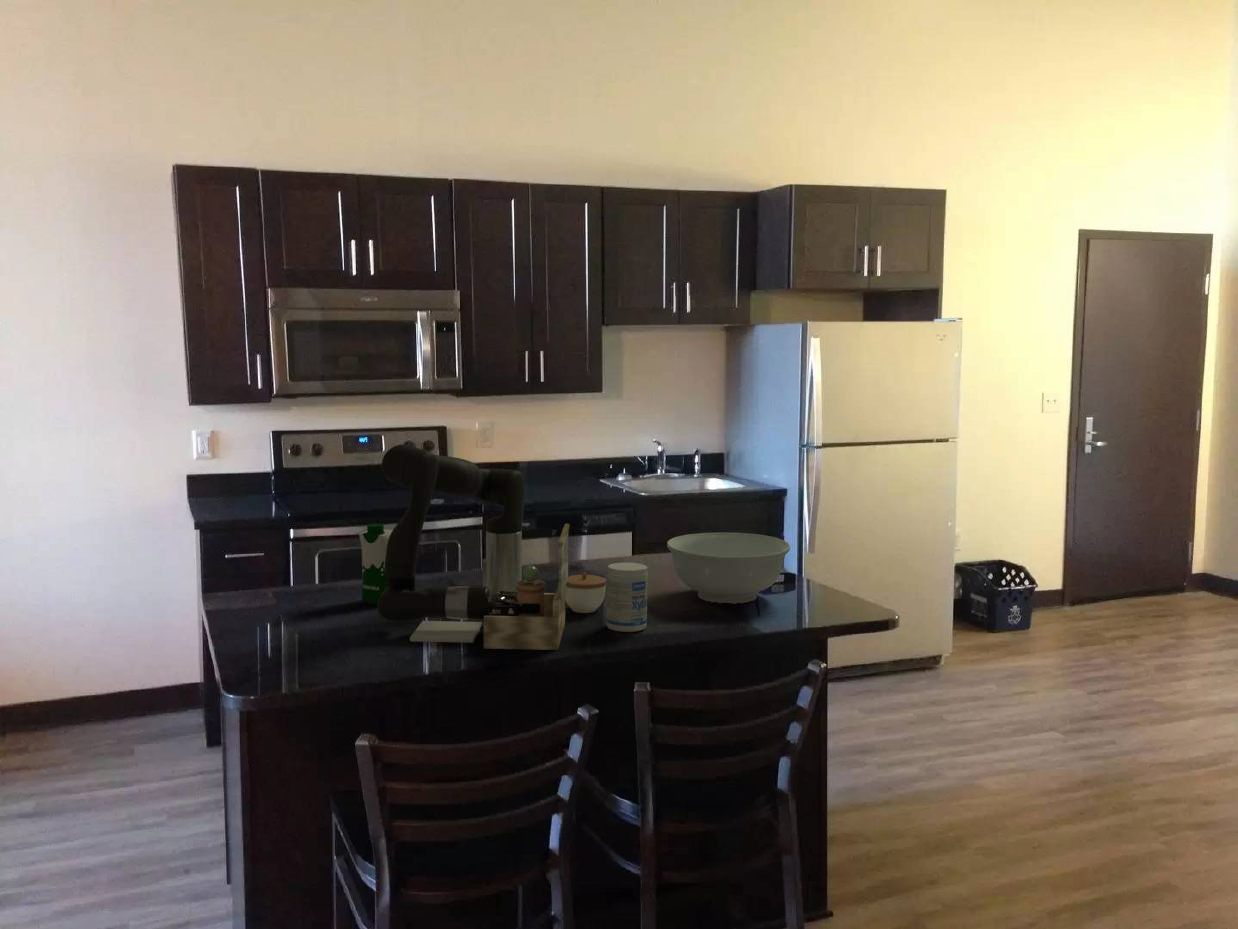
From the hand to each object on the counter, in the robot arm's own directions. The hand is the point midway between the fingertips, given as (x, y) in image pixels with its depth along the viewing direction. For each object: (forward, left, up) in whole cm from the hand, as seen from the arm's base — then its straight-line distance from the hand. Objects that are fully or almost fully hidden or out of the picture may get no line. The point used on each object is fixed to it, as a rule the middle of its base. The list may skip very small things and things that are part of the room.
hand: (541, 604), depth 241 cm
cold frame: (-3, -2, -7) cm, 8 cm away
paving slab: (-18, -11, -7) cm, 23 cm away
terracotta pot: (-2, -1, -6) cm, 6 cm away
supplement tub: (+13, +16, -7) cm, 22 cm away
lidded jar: (-4, +24, -7) cm, 25 cm away
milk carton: (-51, +2, -7) cm, 51 cm away
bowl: (+20, +56, -7) cm, 60 cm away
